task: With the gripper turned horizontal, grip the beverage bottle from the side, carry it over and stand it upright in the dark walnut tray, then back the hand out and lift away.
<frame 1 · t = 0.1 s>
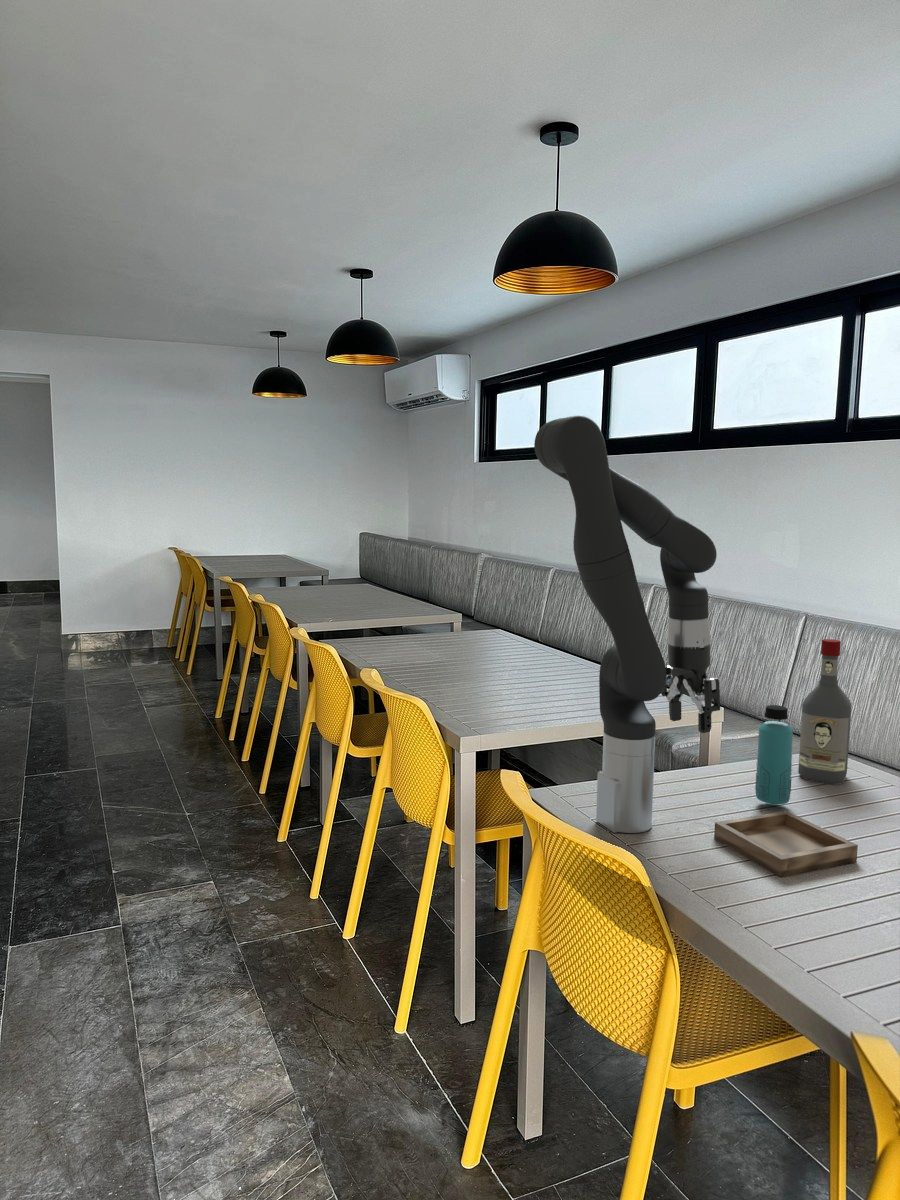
hand: (689, 726, 154), 17 cm above the table, tool pointing down, fingers open, 8 cm apart
liquor: (822, 777, 179), on the table
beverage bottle: (771, 807, 161), on the table
tray: (783, 850, 141), on the table
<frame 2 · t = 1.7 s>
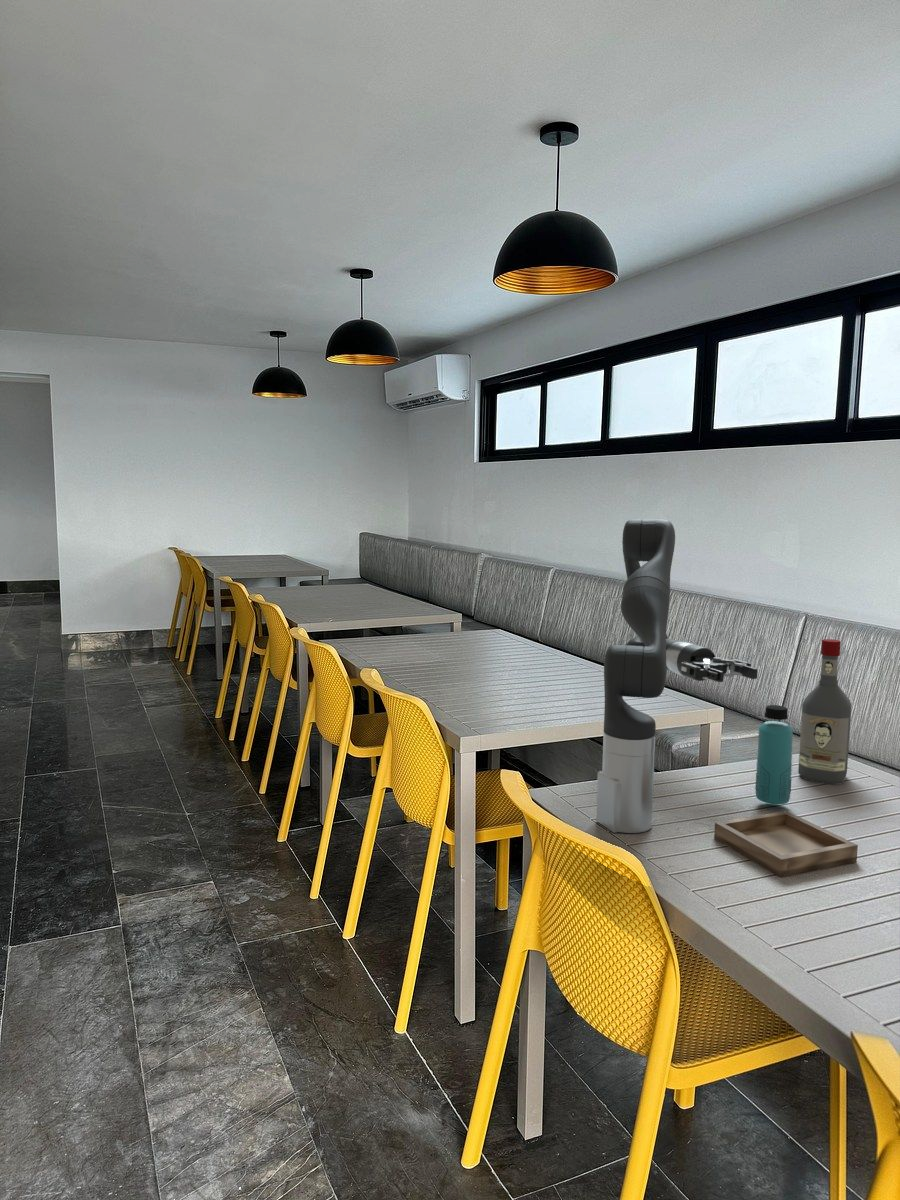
hand: (739, 675, 168), 24 cm above the table, tool horizontal, fingers open, 8 cm apart
nothing on the table moved.
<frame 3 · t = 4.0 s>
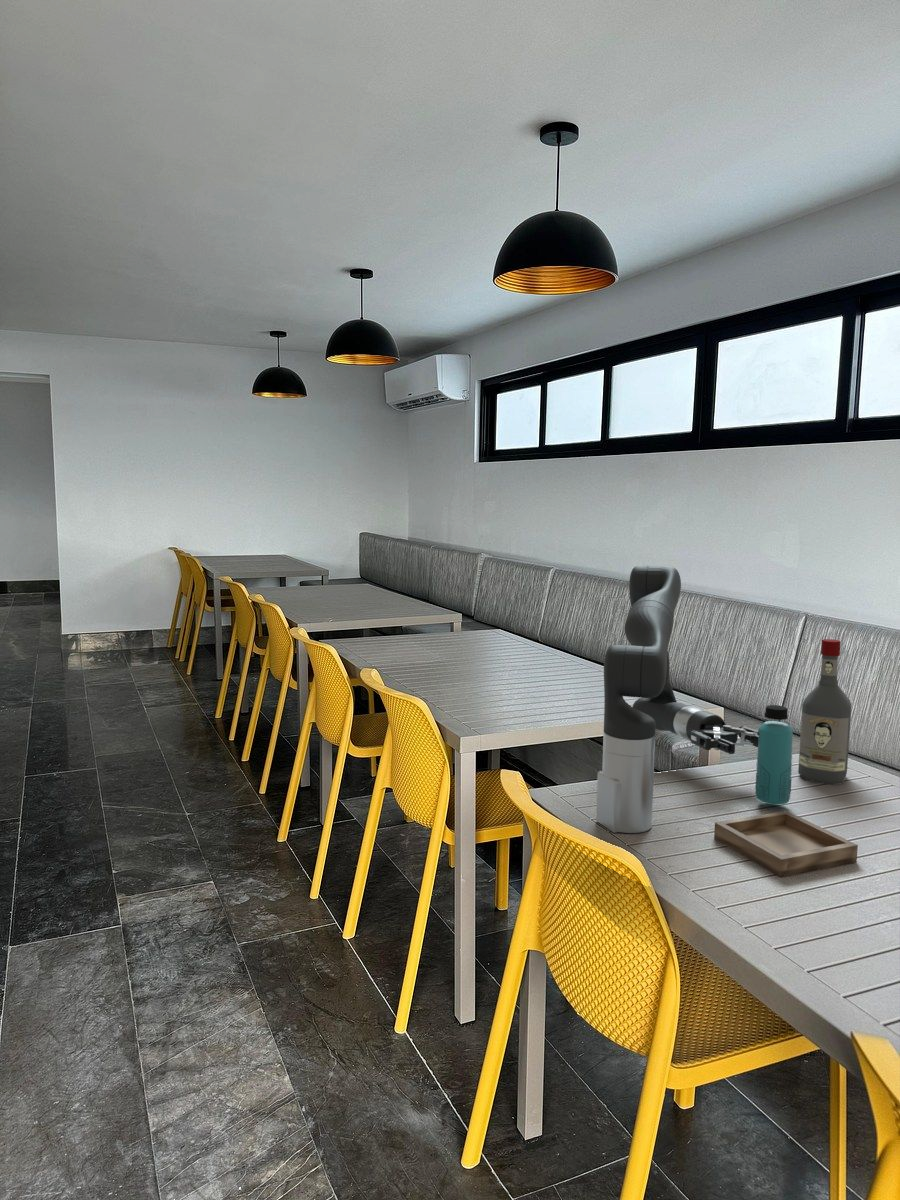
hand: (750, 747, 166), 10 cm above the table, tool horizontal, fingers open, 8 cm apart
nothing on the table moved.
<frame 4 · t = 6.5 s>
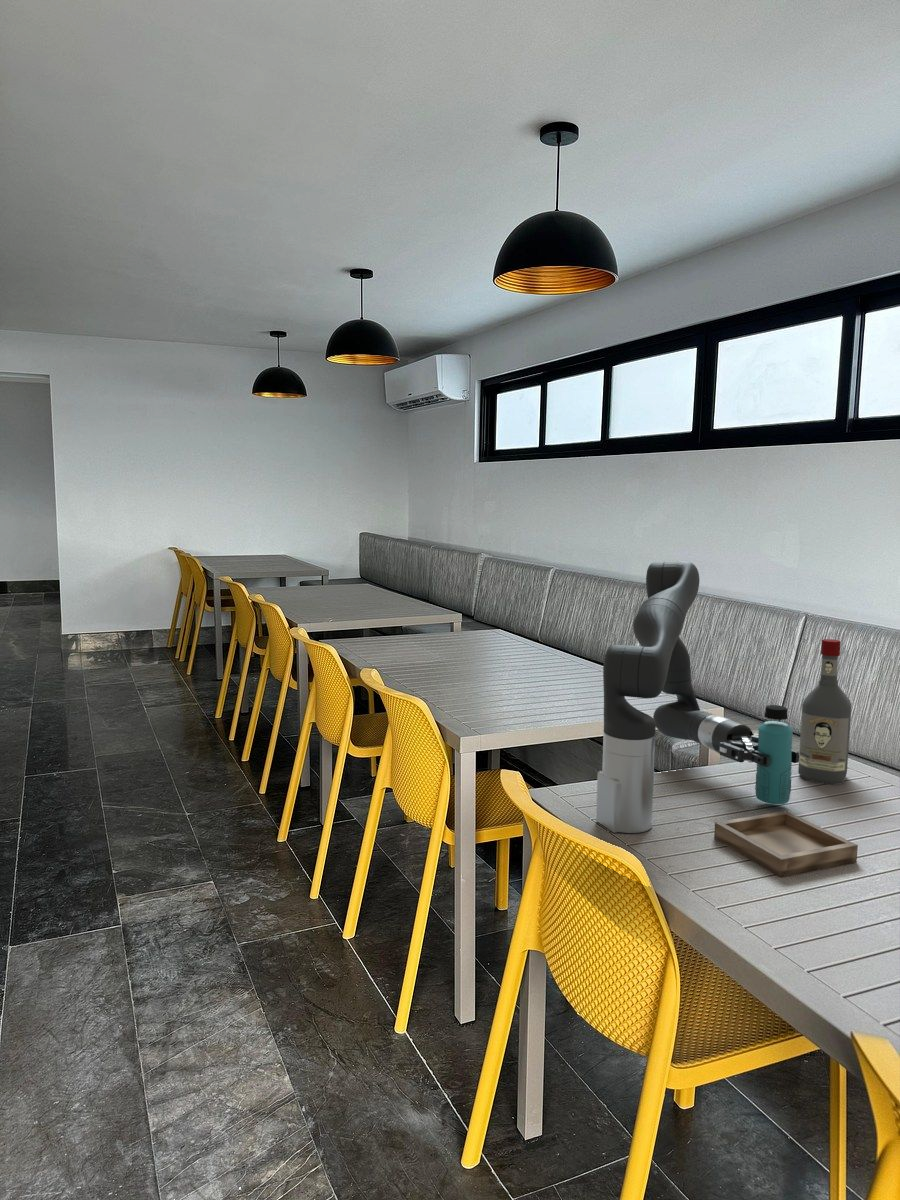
hand: (783, 759, 158), 10 cm above the table, tool horizontal, fingers closed on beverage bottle, 6 cm apart
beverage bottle: (771, 806, 161), on the table, touching gripper
everything else where it was.
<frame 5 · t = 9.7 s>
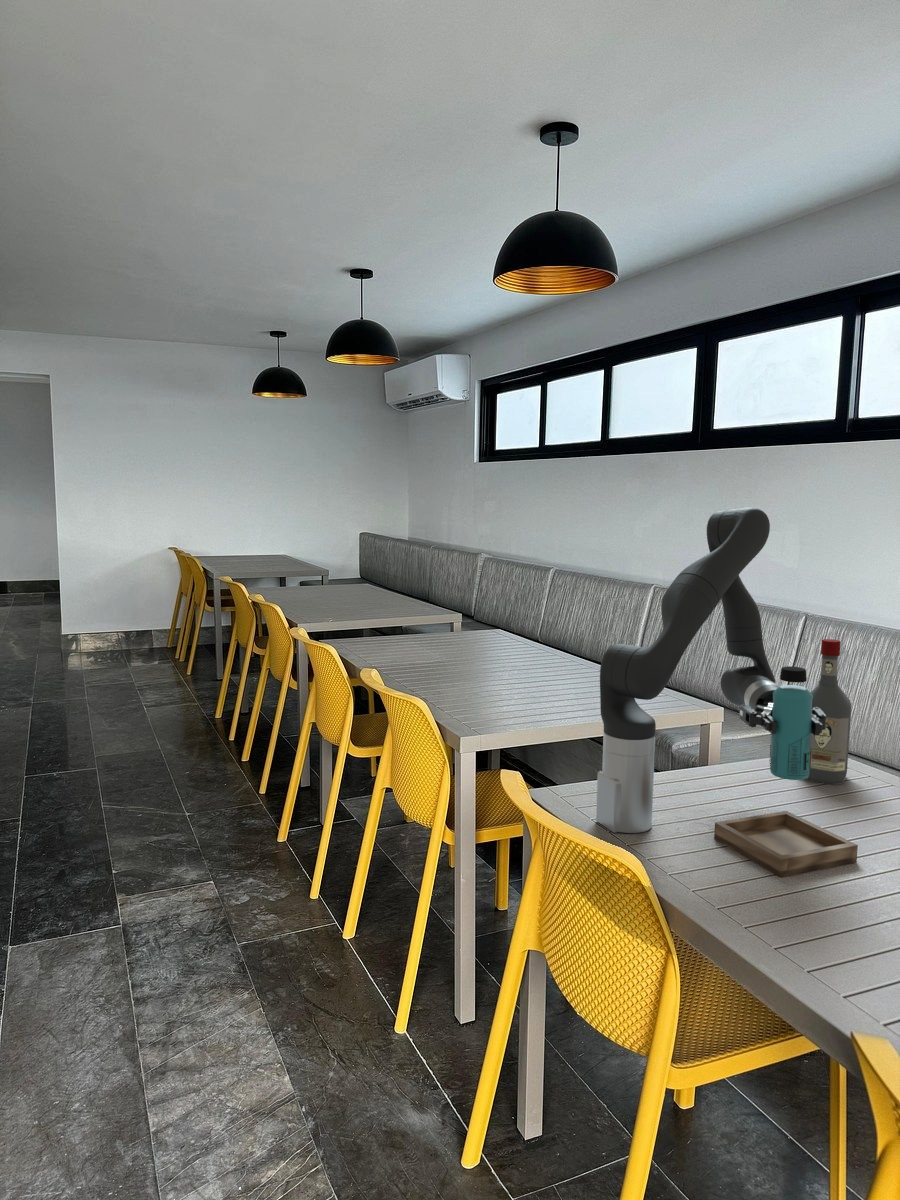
hand: (795, 728, 137), 22 cm above the table, tool horizontal, fingers closed on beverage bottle, 6 cm apart
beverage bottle: (788, 783, 140), point 11 cm above the table, touching gripper
everything else where it was.
when the fingers open (12 cm above the table, at t = 13.2 s): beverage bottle stays where it is, resting on tray.
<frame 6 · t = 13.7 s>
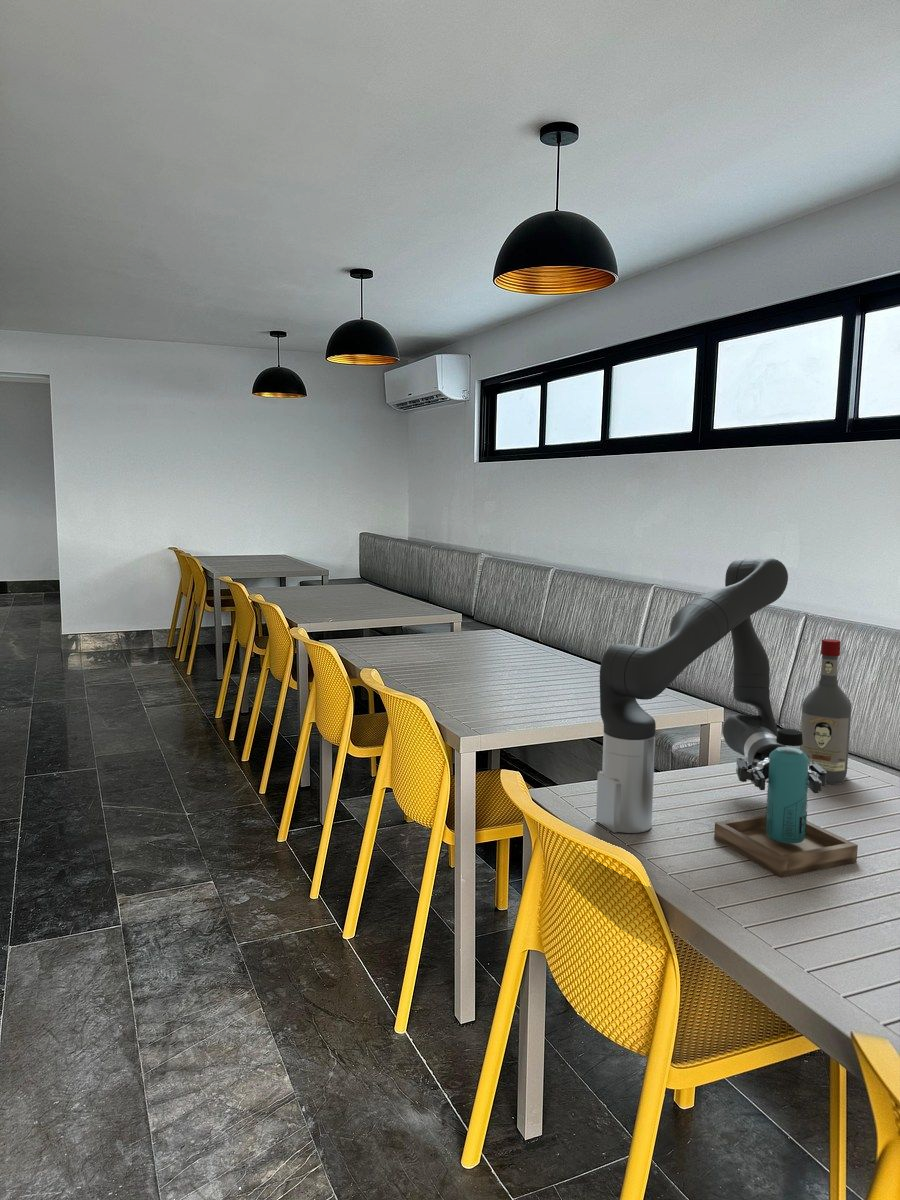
hand: (789, 786, 137), 12 cm above the table, tool horizontal, fingers open, 8 cm apart
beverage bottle: (784, 845, 141), point 1 cm above the table, touching tray
everything else where it was.
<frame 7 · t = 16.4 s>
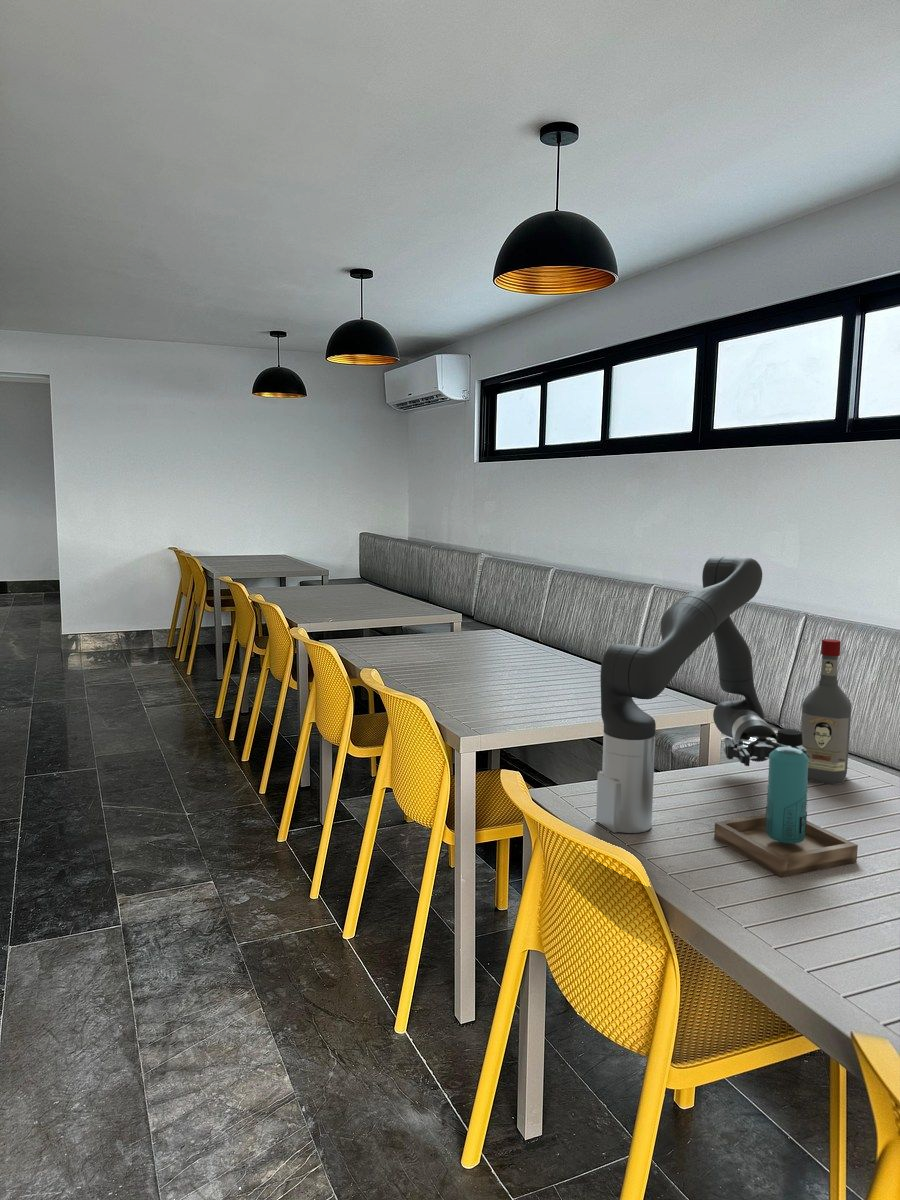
hand: (772, 762, 150), 12 cm above the table, tool horizontal, fingers open, 8 cm apart
nothing on the table moved.
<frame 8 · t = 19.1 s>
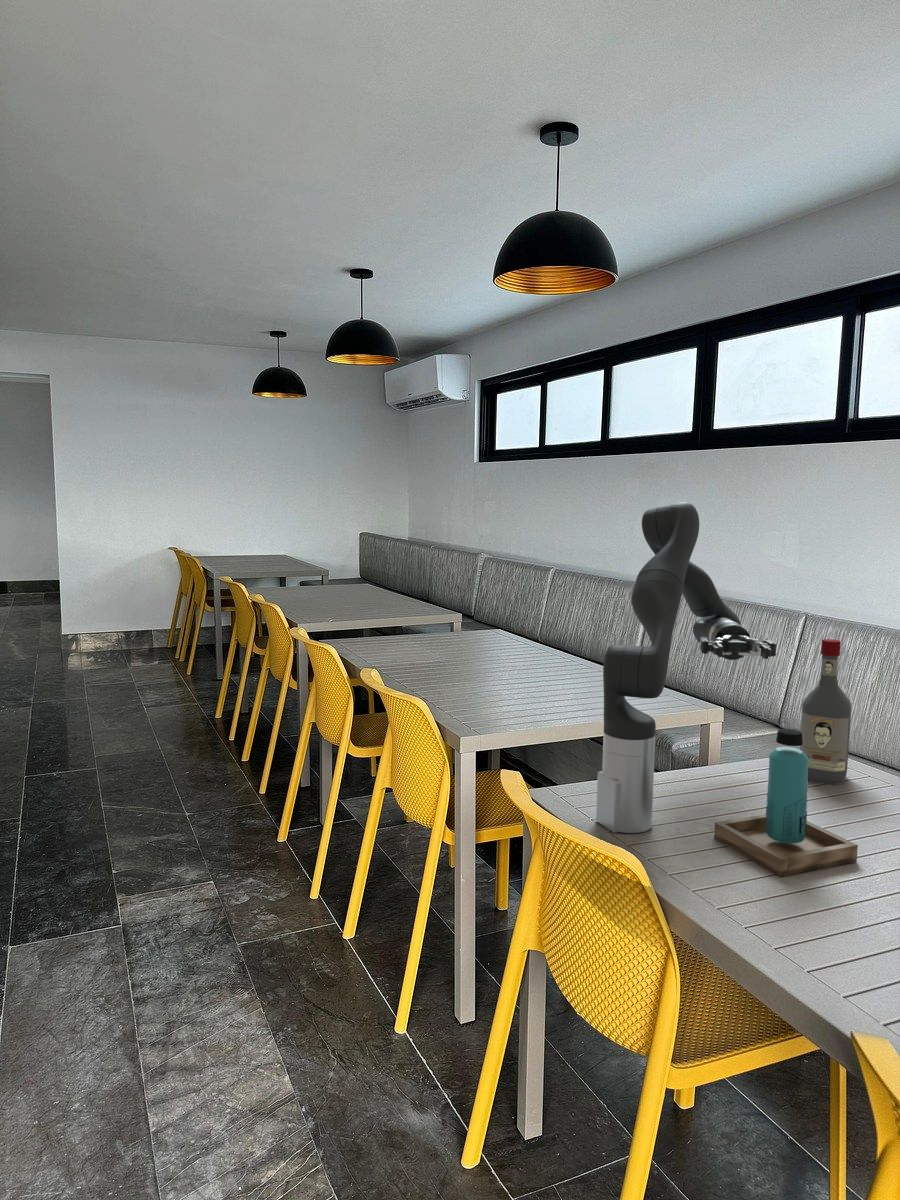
hand: (743, 652, 160), 30 cm above the table, tool horizontal, fingers open, 8 cm apart
nothing on the table moved.
at the end: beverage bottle inside the target area on the tray (0.2 cm from its centre), point 0.8 cm above the tray's base; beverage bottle tilted 0°; the gripper is holding nothing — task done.
